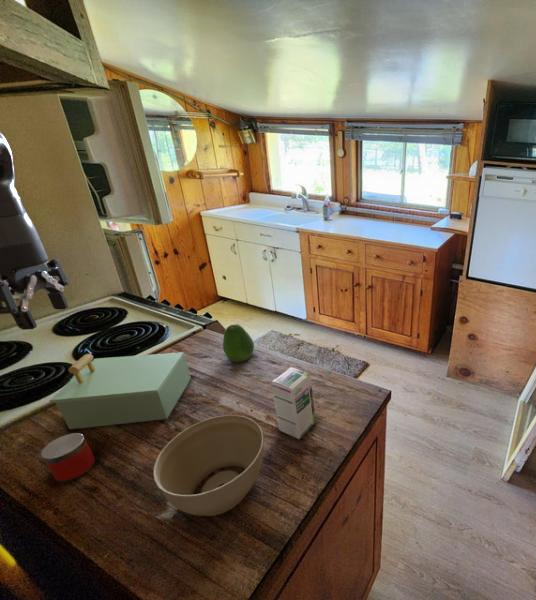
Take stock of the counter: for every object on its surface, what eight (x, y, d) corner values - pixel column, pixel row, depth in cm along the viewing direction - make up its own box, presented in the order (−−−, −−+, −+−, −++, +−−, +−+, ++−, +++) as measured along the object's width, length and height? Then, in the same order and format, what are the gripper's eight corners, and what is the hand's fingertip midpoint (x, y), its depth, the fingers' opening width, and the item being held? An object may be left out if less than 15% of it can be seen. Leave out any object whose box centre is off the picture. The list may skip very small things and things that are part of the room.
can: (48, 487, 58) (31, 460, 56) (70, 460, 63) (55, 434, 61) (85, 482, 60) (70, 456, 57) (103, 456, 65) (91, 430, 62)
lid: (50, 403, 66) (39, 383, 64) (96, 361, 79) (88, 343, 77) (158, 393, 70) (151, 373, 67) (184, 354, 83) (179, 337, 80)
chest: (71, 432, 69) (55, 402, 66) (111, 387, 82) (99, 361, 79) (168, 422, 73) (158, 393, 70) (191, 380, 86) (184, 354, 83)
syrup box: (299, 442, 70) (293, 389, 63) (278, 433, 72) (270, 380, 66) (316, 424, 74) (311, 373, 68) (296, 415, 76) (290, 365, 70)
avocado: (220, 364, 93) (212, 327, 88) (242, 350, 100) (235, 315, 95) (241, 371, 90) (233, 334, 85) (262, 357, 97) (256, 322, 92)
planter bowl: (203, 562, 49) (187, 518, 44) (153, 503, 57) (134, 460, 52) (289, 481, 61) (282, 440, 57) (238, 441, 69) (228, 402, 65)
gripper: (17, 230, 64) (50, 304, 71) (-58, 251, 52) (-9, 337, 59) (62, 230, 66) (90, 302, 73) (-1, 250, 53) (41, 334, 60)
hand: (46, 318), depth 66 cm, fingers open, 8 cm apart
